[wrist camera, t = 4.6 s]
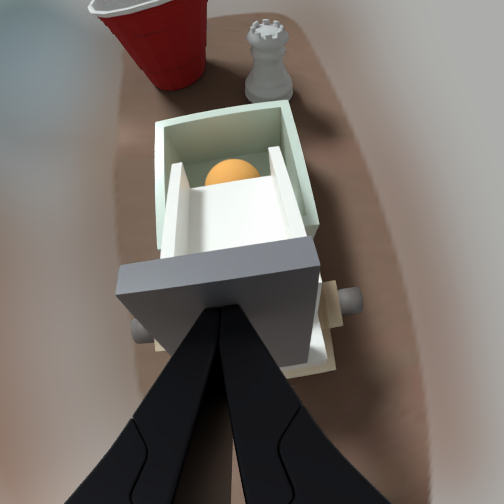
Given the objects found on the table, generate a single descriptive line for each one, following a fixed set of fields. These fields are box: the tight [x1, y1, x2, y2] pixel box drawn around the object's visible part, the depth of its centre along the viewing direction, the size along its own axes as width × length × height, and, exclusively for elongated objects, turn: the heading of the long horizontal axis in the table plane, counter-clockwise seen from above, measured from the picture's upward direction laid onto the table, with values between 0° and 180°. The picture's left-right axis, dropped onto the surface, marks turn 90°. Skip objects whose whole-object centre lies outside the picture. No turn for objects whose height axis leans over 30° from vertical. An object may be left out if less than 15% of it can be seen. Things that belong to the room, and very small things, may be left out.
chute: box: [115, 146, 328, 371], centre depth 13 cm, size 11×6×7 cm, turn 7°
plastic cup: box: [88, 0, 208, 91], centre depth 22 cm, size 11×11×12 cm
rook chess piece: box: [245, 19, 293, 104], centre depth 23 cm, size 4×4×8 cm
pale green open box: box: [155, 100, 319, 252], centre depth 21 cm, size 9×9×6 cm
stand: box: [131, 273, 363, 379], centre depth 17 cm, size 8×10×9 cm
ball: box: [205, 159, 261, 186], centre depth 21 cm, size 4×4×4 cm
